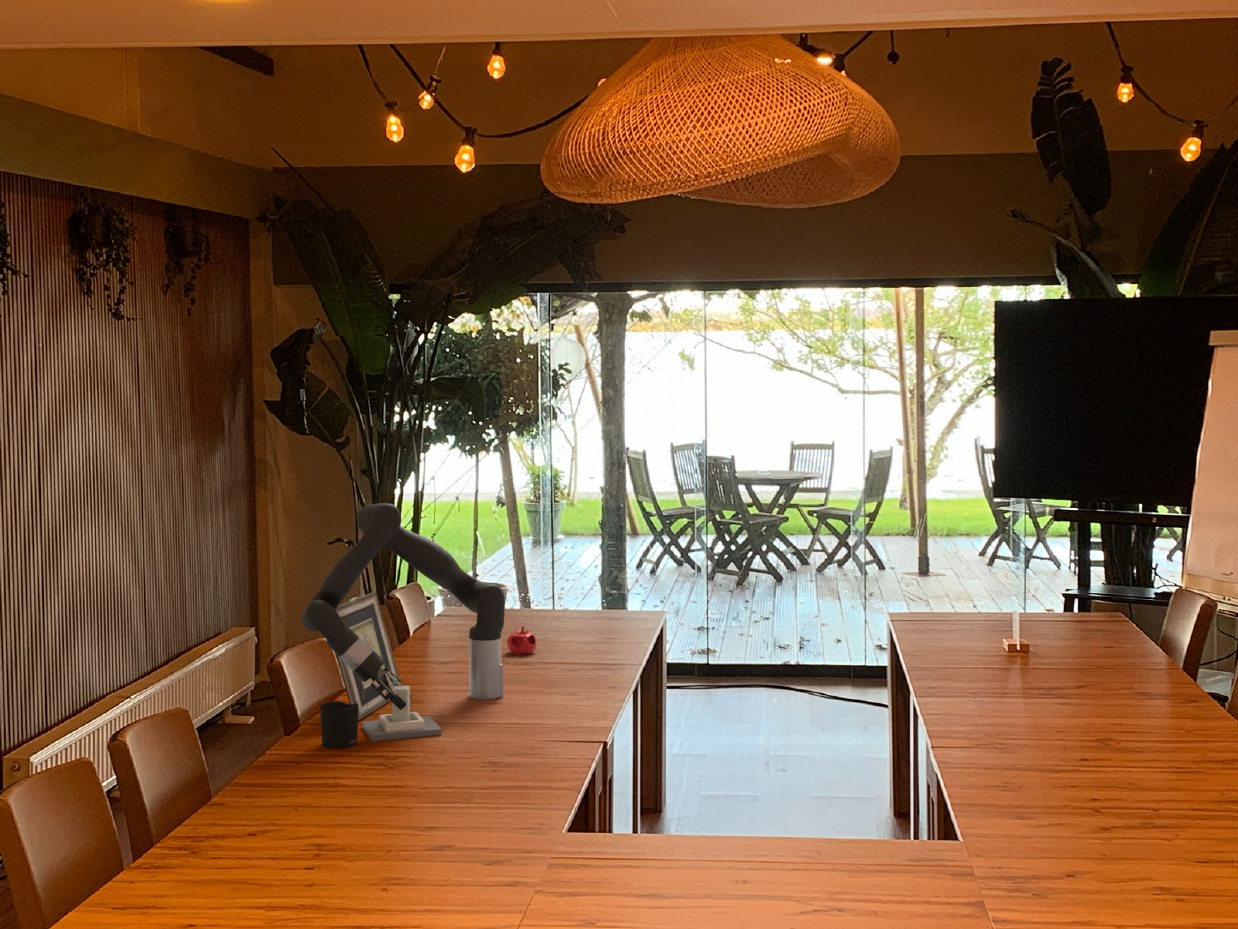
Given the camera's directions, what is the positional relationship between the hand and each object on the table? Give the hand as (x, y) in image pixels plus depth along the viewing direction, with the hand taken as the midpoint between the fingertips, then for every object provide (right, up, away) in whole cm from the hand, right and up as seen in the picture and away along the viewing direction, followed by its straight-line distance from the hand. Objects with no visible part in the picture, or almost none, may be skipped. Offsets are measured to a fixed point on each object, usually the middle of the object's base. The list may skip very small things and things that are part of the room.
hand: (406, 703), depth 330 cm
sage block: (-1, -6, 0) cm, 6 cm away
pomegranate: (+22, -2, +99) cm, 101 cm away
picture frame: (-16, -6, +26) cm, 31 cm away
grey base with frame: (-1, -7, 0) cm, 7 cm away
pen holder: (-15, -8, -12) cm, 21 cm away
